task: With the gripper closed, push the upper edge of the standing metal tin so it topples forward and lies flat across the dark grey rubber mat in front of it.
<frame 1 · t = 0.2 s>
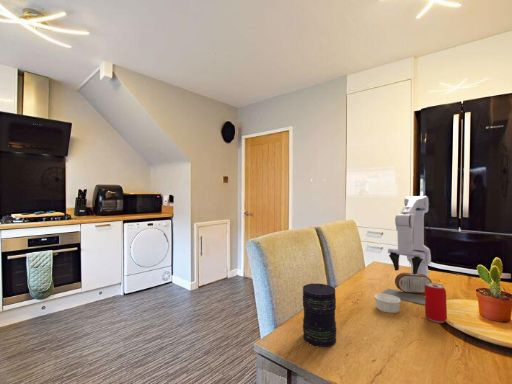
hand: (405, 272, 112), 10 cm above the table, tool pointing down, fingers open, 7 cm apart
tin: (413, 293, 114), on the table, touching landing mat
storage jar: (319, 339, 76), on the table
ramekin: (387, 309, 97), on the table
beverage can: (435, 320, 88), on the table
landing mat: (409, 297, 109), on the table
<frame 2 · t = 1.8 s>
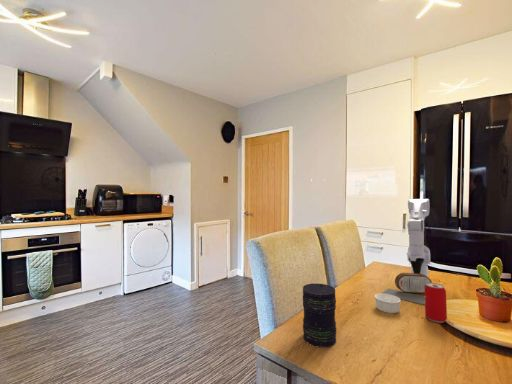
hand: (417, 273, 119), 7 cm above the table, tool pointing down, fingers closed
nothing on the table moved.
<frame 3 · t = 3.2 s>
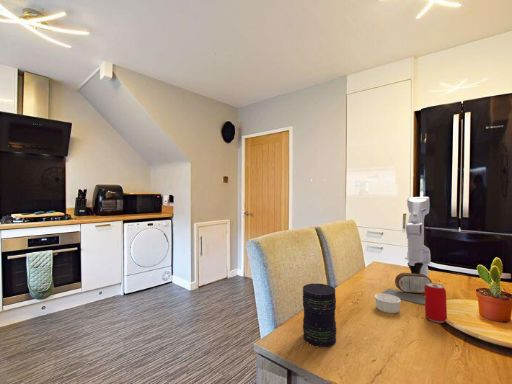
hand: (415, 278, 117), 5 cm above the table, tool pointing down, fingers closed
tin: (413, 293, 114), on the table, touching gripper, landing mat
everything else where it was.
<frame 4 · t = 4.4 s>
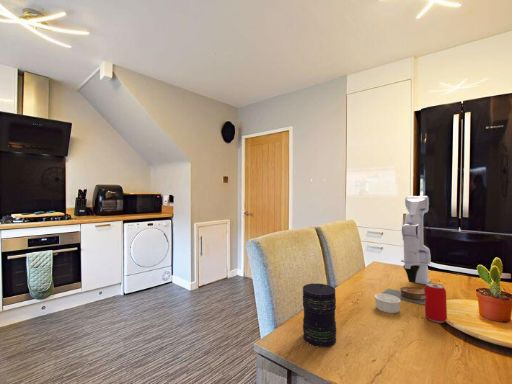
hand: (412, 282, 112), 5 cm above the table, tool pointing down, fingers closed
tin: (414, 290, 113), point 1 cm above the table, touching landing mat
everything else where it was.
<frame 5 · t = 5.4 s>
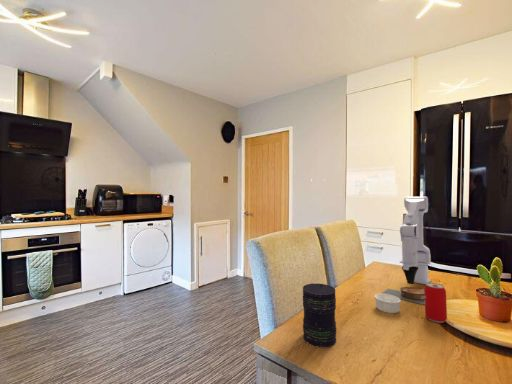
hand: (410, 283, 110), 5 cm above the table, tool pointing down, fingers closed
nothing on the table moved.
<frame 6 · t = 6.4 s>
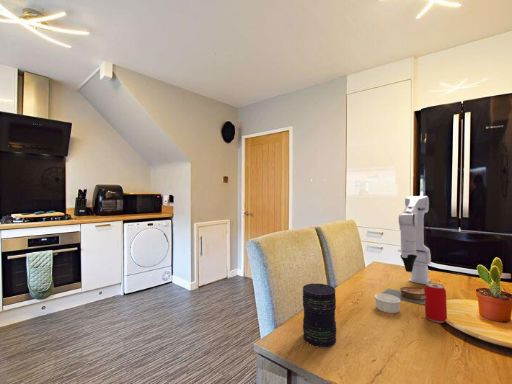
hand: (409, 271, 111), 10 cm above the table, tool pointing down, fingers closed
nothing on the table moved.
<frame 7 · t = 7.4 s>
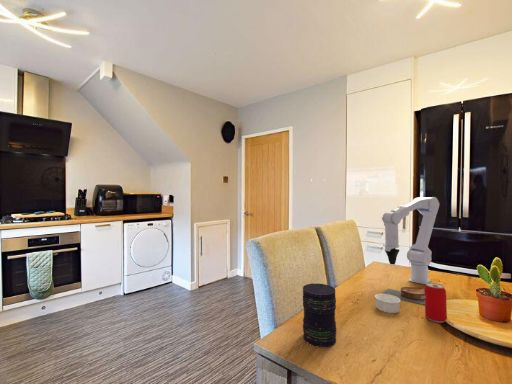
hand: (392, 263, 125), 10 cm above the table, tool pointing down, fingers closed
nothing on the table moved.
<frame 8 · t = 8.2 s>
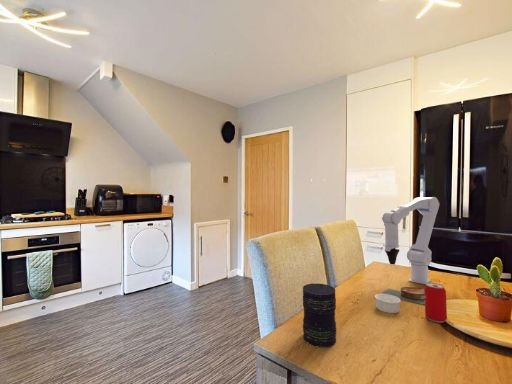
hand: (392, 263, 125), 10 cm above the table, tool pointing down, fingers closed
nothing on the table moved.
at the end: tin tilted 86°; tin inside the target area (5.4 cm from its centre), point 1.3 cm above the table; beverage can moved 0.2 cm from its start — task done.
